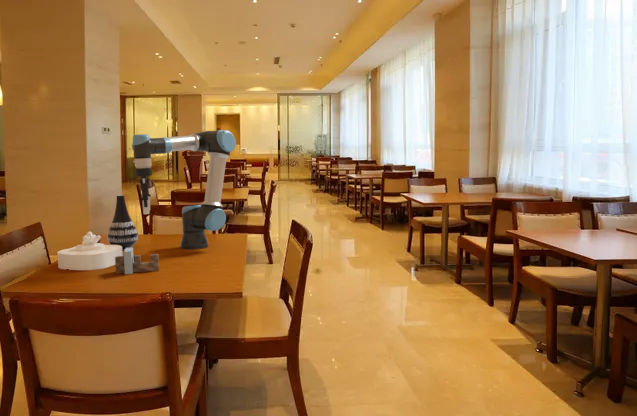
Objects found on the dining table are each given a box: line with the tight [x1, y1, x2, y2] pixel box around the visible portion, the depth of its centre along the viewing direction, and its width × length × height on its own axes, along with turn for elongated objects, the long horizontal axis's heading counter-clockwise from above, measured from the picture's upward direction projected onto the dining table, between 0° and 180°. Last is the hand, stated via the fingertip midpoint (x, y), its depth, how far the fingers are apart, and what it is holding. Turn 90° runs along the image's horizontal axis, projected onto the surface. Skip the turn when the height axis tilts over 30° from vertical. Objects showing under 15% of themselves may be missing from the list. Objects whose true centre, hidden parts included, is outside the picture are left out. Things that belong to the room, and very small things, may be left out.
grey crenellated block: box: [114, 253, 160, 274], centre depth 234 cm, size 18×3×7 cm, turn 105°
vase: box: [106, 194, 139, 251], centre depth 289 cm, size 16×16×30 cm
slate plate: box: [123, 246, 134, 275], centre depth 233 cm, size 10×3×10 cm, turn 15°
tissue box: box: [56, 231, 124, 271], centre depth 250 cm, size 25×25×16 cm
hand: (147, 212), depth 250 cm, fingers open, 13 cm apart
